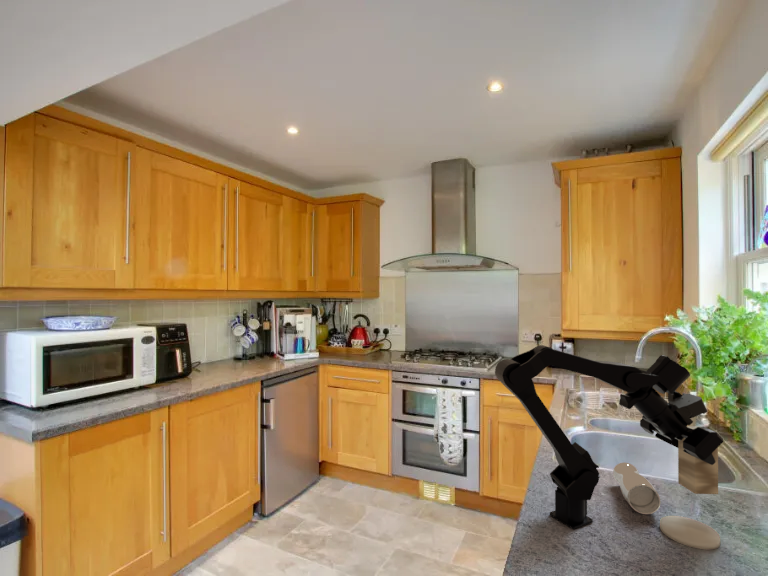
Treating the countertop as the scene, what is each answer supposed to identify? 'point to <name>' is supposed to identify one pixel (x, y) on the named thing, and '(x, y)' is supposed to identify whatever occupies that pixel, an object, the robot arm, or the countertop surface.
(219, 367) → the countertop surface
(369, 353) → the countertop surface
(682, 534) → the saucer
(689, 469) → the wooden block
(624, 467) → the beer glass
